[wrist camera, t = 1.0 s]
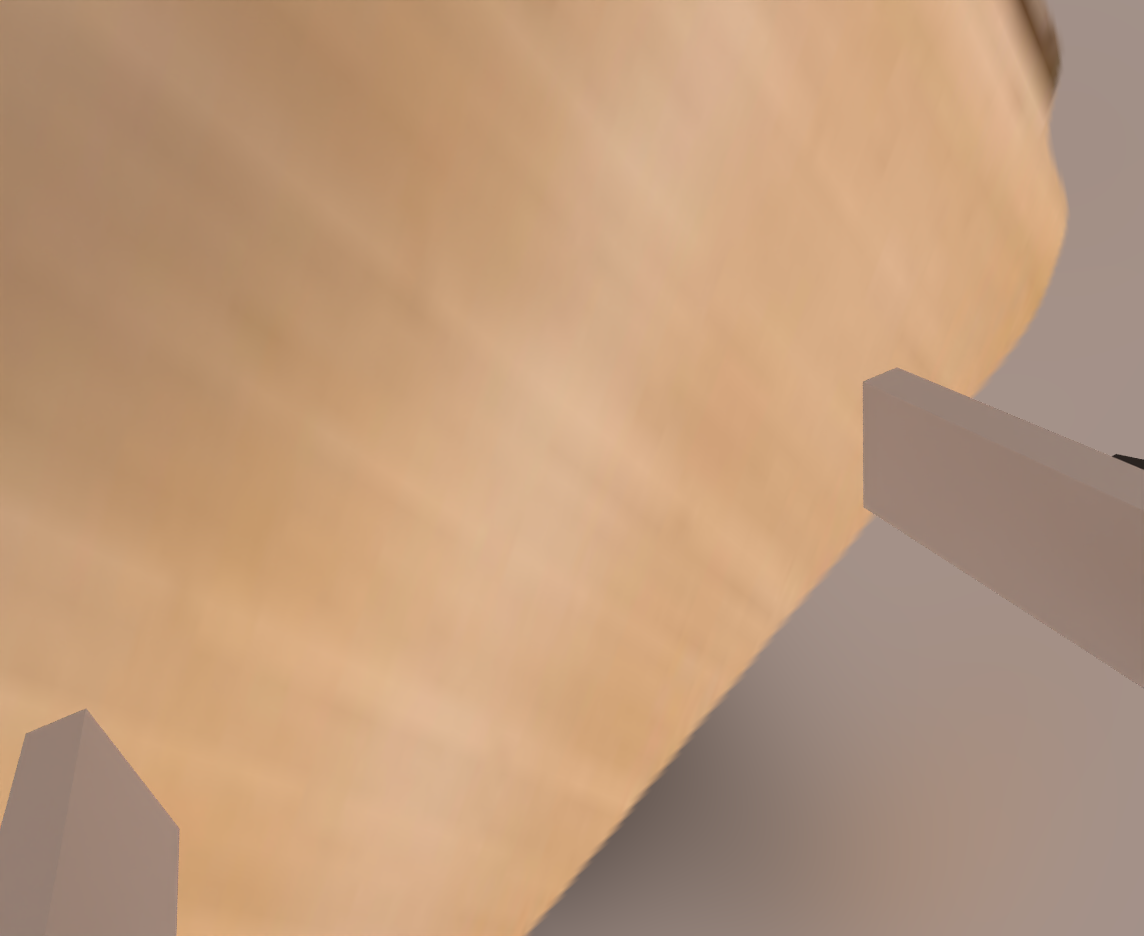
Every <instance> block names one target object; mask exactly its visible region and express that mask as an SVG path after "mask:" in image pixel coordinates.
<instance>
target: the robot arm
mask: <svg viewBox="0 0 1144 936" xmlns="http://www.w3.org/2000/svg"><path fill="white" fill-rule="evenodd" d="M863 503H864V508H866V509H867V510H869V511H870V512H872V513H873V514H875V515H877V516H878V517H880V518H881V519H883V520H884V521H886V522H888V523H889V524H891V525H892V526H894V527H895V528H897V529H898V530H900V531H901V532H903V533H904V534H906V535H907V536H909V537H911V538H912V539H914V540H915V541H917V542H918V543H920V544H921V545H923V546H925V547H926V548H928V549H929V550H931V551H932V552H934V553H935V554H937V555H938V556H940V557H941V558H943V559H945V560H946V561H948V562H949V563H951V564H953V565H954V566H956V567H957V568H958V569H960V570H962V571H963V572H965V573H966V574H968V575H970V576H971V577H972V578H974V579H975V580H977V581H979V582H980V583H982V584H983V585H985V586H986V587H988V588H990V589H991V590H992V591H994V592H996V593H997V594H999V595H1000V596H1002V597H1003V598H1005V599H1006V600H1008V601H1009V602H1011V603H1013V604H1014V605H1016V606H1017V607H1019V608H1020V609H1022V610H1023V611H1025V612H1027V613H1028V614H1030V615H1031V616H1033V617H1035V618H1036V619H1037V620H1039V621H1040V622H1042V623H1043V624H1045V625H1047V626H1048V627H1050V628H1051V629H1053V630H1054V631H1056V632H1057V633H1059V634H1060V635H1062V636H1064V637H1065V638H1067V639H1068V640H1070V641H1072V642H1073V643H1074V644H1076V645H1078V646H1079V647H1081V648H1082V649H1084V650H1085V651H1087V652H1088V653H1090V654H1092V655H1093V656H1095V657H1096V658H1098V659H1099V660H1101V661H1102V662H1104V663H1105V664H1107V665H1108V666H1110V667H1111V668H1113V669H1115V670H1116V671H1118V672H1119V673H1121V674H1122V675H1124V676H1126V677H1127V678H1128V679H1130V680H1132V681H1133V682H1135V683H1136V684H1138V685H1139V686H1141V687H1142V688H1144V460H1142V459H1138V458H1132V457H1128V456H1122V455H1117V454H1116V455H1114V456H1109V455H1107V454H1104V453H1102V452H1099V451H1097V450H1095V449H1092V448H1090V447H1087V446H1085V445H1083V444H1080V443H1078V442H1075V441H1073V440H1070V439H1068V438H1066V437H1063V436H1061V435H1059V434H1056V433H1054V432H1051V431H1049V430H1046V429H1044V428H1042V427H1039V426H1037V425H1034V424H1032V423H1030V422H1027V421H1025V420H1022V419H1020V418H1018V417H1015V416H1013V415H1010V414H1008V413H1005V412H1003V411H1001V410H998V409H996V408H993V407H991V406H988V405H986V404H984V403H982V402H979V401H977V400H974V399H972V398H969V397H967V396H965V395H962V394H960V393H957V392H955V391H953V390H950V389H948V388H945V387H943V386H941V385H938V384H936V383H933V382H931V381H929V380H926V379H924V378H921V377H919V376H916V375H914V374H912V373H909V372H907V371H904V370H902V369H900V368H895V369H892V370H890V371H887V372H885V373H883V374H880V375H878V376H876V377H873V378H871V379H868V380H866V381H864V382H863ZM178 860H179V828H178V826H177V825H176V824H175V822H174V821H173V820H172V819H171V817H170V816H169V815H168V813H167V812H166V811H165V809H164V808H163V807H162V806H161V804H160V803H159V802H158V800H157V799H156V798H155V797H154V795H153V794H152V793H151V791H150V790H149V789H148V788H147V786H146V785H145V784H144V782H143V781H142V780H141V779H140V777H139V776H138V775H137V773H136V772H135V771H134V770H133V768H132V767H131V766H130V764H129V763H128V762H127V760H126V759H125V758H124V757H123V755H122V754H121V753H120V751H119V750H118V749H117V748H116V746H115V745H114V744H113V742H112V741H111V740H110V739H109V737H108V736H107V735H106V733H105V732H104V731H103V730H102V728H101V727H100V726H99V724H98V723H97V722H96V721H95V719H94V718H93V717H92V715H91V714H90V713H89V712H88V710H87V709H84V710H81V711H79V712H76V713H74V714H72V715H69V716H67V717H65V718H62V719H60V720H57V721H55V722H53V723H50V724H48V725H46V726H43V727H41V728H38V729H36V730H34V731H31V732H29V733H27V734H26V735H25V739H24V742H23V746H22V750H21V754H20V757H19V761H18V765H17V768H16V772H15V776H14V780H13V783H12V787H11V791H10V795H9V798H8V802H7V806H6V810H5V813H4V817H3V821H2V825H1V828H0V936H176V929H177V895H178Z"/></svg>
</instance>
